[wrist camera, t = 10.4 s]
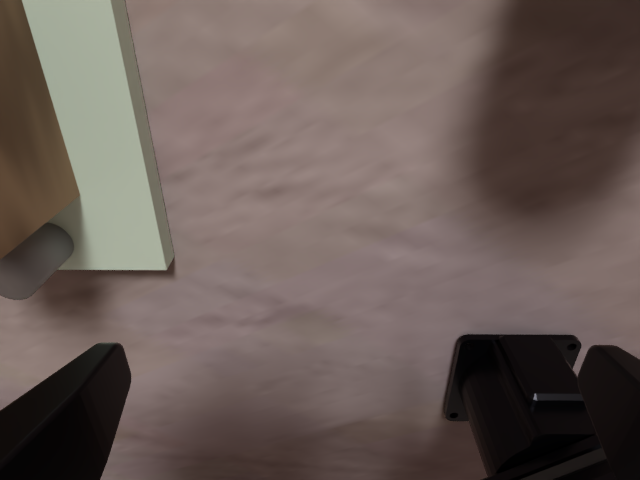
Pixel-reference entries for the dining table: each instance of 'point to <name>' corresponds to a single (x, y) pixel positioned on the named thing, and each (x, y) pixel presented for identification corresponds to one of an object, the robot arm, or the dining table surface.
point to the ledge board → (94, 150)
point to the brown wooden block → (28, 137)
